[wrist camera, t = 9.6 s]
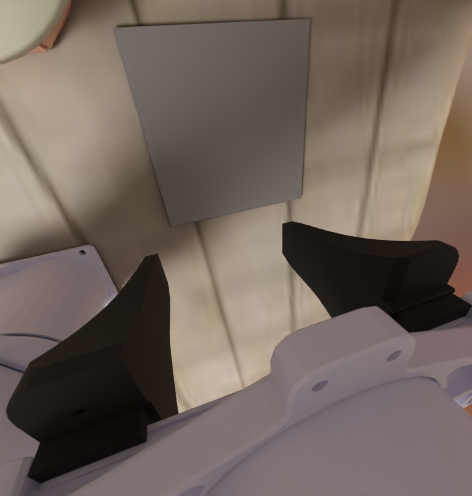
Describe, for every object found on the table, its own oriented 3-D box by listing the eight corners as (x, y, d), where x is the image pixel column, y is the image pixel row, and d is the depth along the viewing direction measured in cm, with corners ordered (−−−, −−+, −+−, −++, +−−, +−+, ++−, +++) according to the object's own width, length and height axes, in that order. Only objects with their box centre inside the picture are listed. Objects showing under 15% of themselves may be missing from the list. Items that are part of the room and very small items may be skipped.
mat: (170, 225, 22) (170, 226, 21) (113, 29, 14) (112, 27, 14) (299, 196, 24) (301, 198, 24) (307, 20, 17) (310, 18, 17)
